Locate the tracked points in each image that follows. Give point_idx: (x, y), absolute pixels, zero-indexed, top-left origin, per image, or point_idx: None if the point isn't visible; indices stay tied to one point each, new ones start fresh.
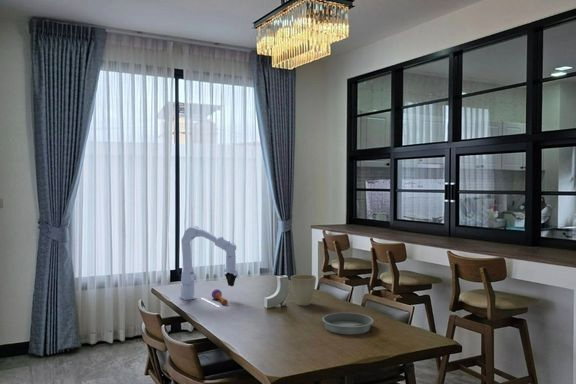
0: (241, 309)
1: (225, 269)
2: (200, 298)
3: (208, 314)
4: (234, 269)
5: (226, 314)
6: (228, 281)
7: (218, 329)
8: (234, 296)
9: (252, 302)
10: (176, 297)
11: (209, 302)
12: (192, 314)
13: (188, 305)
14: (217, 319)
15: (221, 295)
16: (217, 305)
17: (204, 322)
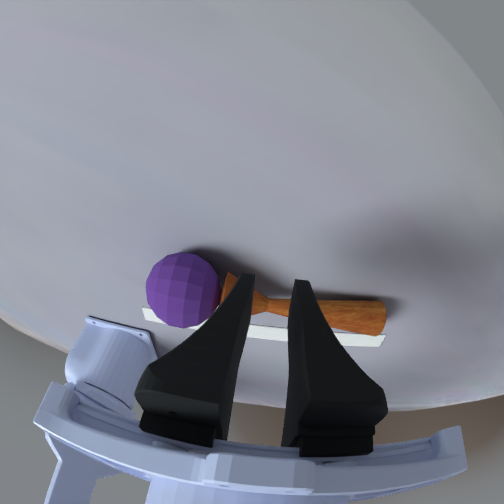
0: (490, 289)
1: (101, 461)
2: (148, 319)
3: (415, 386)
4: None
5: (468, 353)
6: (243, 347)
7: (497, 388)
8: (190, 130)
9: (465, 148)
10: None
11: (263, 335)
12: None
13: (251, 388)
14: (467, 379)
15: (232, 283)
16: (352, 337)
17: (449, 400)
